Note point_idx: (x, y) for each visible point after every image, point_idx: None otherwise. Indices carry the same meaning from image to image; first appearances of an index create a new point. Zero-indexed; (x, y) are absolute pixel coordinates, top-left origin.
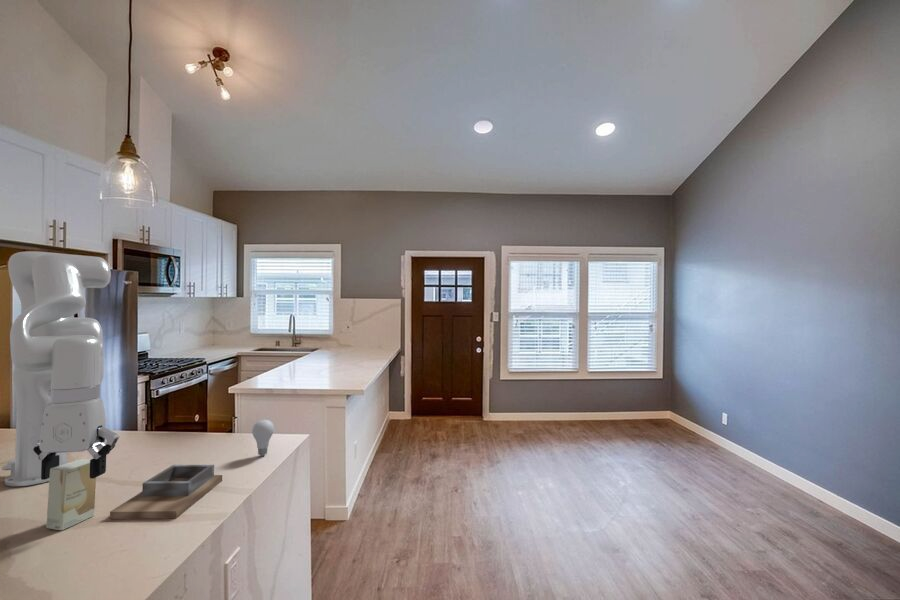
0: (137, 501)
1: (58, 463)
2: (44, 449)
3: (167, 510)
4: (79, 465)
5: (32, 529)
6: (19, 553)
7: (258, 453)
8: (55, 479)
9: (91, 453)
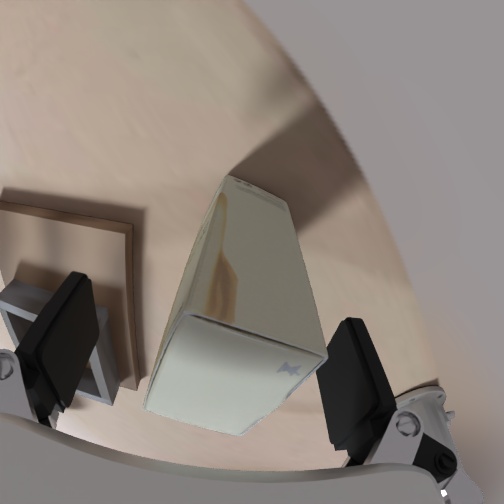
0: (95, 280)
1: (326, 409)
2: (400, 486)
3: (2, 213)
4: (168, 372)
5: (324, 207)
6: (268, 67)
7: (54, 410)
8: (271, 292)
9: (16, 395)
